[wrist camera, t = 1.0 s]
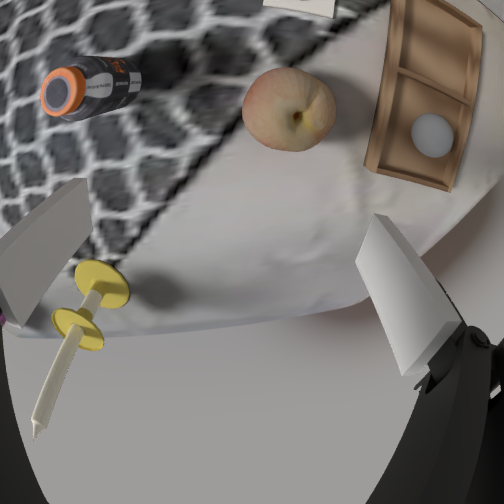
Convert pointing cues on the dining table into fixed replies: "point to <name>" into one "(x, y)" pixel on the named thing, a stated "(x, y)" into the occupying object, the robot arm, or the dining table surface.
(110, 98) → the pill bottle
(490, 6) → the milk carton
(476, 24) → the divided wooden tray
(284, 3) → the tile
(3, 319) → the candy bar box
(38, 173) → the dining table surface
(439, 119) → the grey ball
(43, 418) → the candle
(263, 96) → the fruit
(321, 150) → the dining table surface
